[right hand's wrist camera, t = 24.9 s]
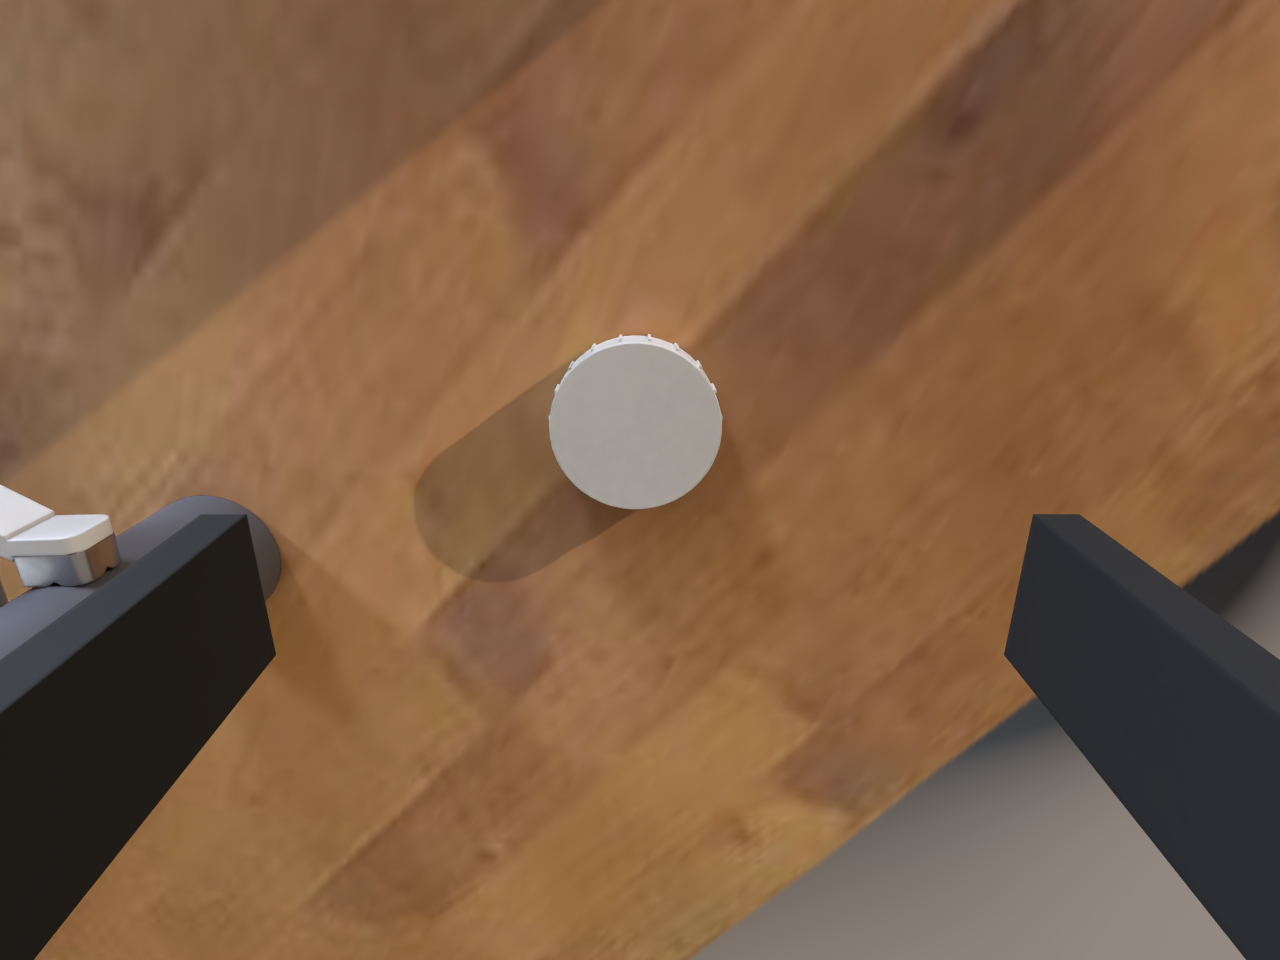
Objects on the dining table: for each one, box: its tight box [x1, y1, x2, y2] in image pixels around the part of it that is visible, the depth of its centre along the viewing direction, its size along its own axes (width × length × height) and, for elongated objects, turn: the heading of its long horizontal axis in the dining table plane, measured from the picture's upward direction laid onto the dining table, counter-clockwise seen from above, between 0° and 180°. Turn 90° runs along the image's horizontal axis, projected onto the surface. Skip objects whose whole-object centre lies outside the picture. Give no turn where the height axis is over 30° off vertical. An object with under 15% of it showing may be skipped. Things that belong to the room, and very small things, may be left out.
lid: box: [548, 334, 723, 509], centre depth 26 cm, size 6×6×2 cm
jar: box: [0, 496, 281, 660], centre depth 21 cm, size 5×5×15 cm
